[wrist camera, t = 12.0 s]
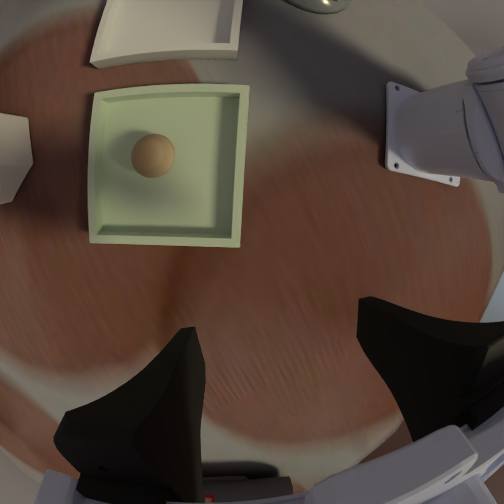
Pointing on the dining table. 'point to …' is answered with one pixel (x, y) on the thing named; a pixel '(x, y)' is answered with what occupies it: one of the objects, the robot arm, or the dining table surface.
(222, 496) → the bluetooth speaker
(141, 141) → the cork ball
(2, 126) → the jar
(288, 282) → the dining table surface
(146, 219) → the green box
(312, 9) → the slate coaster
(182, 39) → the grey box
